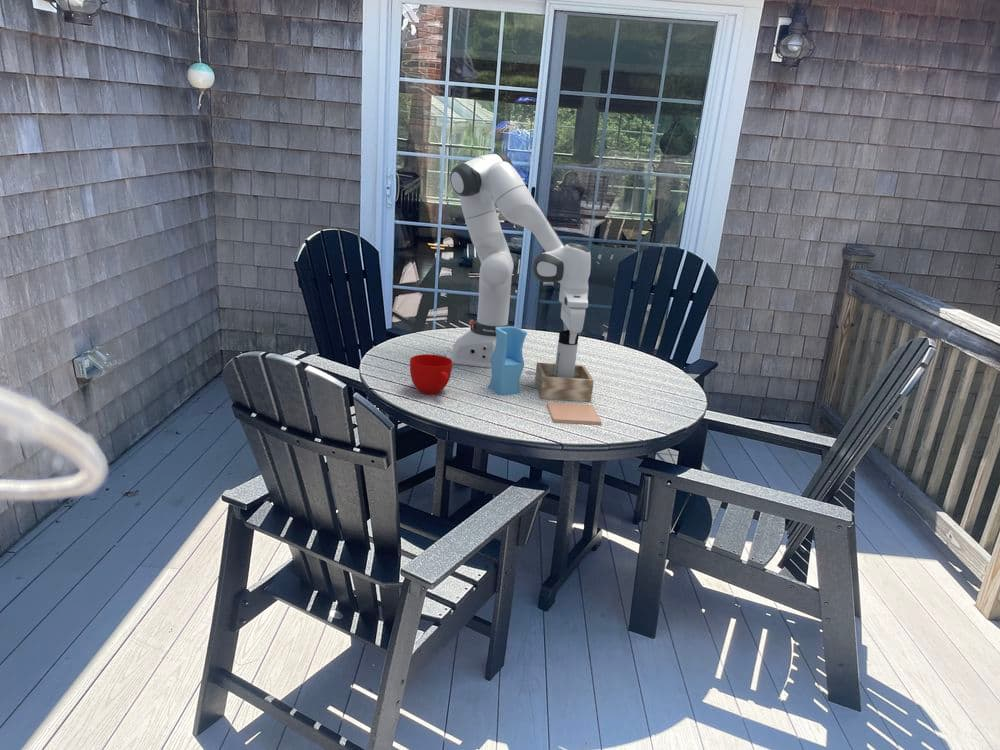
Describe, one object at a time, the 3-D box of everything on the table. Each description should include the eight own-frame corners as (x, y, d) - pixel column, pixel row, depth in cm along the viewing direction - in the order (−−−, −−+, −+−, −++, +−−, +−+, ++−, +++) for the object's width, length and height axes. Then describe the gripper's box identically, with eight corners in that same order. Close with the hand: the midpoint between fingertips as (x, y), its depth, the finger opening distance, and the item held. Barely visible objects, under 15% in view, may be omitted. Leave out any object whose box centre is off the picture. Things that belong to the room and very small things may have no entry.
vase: (499, 395, 227) (505, 333, 221) (488, 387, 233) (493, 326, 227) (521, 393, 230) (527, 332, 224) (509, 385, 237) (515, 326, 231)
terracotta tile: (553, 422, 208) (553, 419, 208) (546, 405, 222) (547, 402, 221) (601, 425, 210) (601, 421, 209) (591, 408, 223) (592, 404, 223)
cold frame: (540, 398, 227) (543, 377, 225) (534, 382, 242) (536, 362, 240) (590, 401, 229) (593, 380, 227) (581, 385, 244) (584, 365, 242)
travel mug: (571, 389, 238) (579, 330, 232) (571, 396, 232) (579, 335, 226) (552, 387, 239) (559, 328, 233) (552, 393, 233) (559, 333, 227)
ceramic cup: (425, 404, 213) (427, 372, 210) (401, 386, 226) (402, 355, 223) (464, 400, 219) (466, 368, 216) (438, 382, 233) (440, 352, 230)
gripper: (558, 289, 235) (554, 331, 240) (568, 302, 216) (564, 347, 220) (577, 290, 236) (573, 331, 240) (589, 303, 217) (584, 348, 221)
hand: (569, 339), depth 230 cm, fingers open, 8 cm apart
